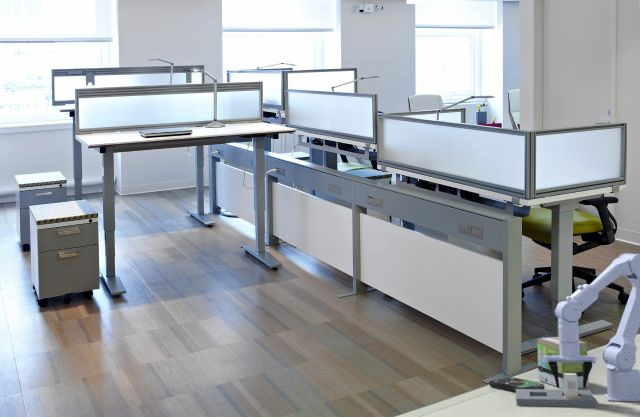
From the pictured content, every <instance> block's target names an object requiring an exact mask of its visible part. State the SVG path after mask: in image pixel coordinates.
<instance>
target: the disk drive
mask: <svg viewBox="0 0 640 417" xmlns="http://www.w3.org/2000/svg"><path fill="white" fill-rule="evenodd" d="M490 386H491V387H492V388H491V387H490ZM489 387H490V388H491V389H495V390H501V391H505V392H509V393H513V394H516V389H545V384H544V383H540V382H537V381H533V380H527V379H524V378H518V377H512V376H511V377H510V376H509V377H506V378H504V377H503V378H498V379H497V380H496V379H493V380H489Z"/></svg>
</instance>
